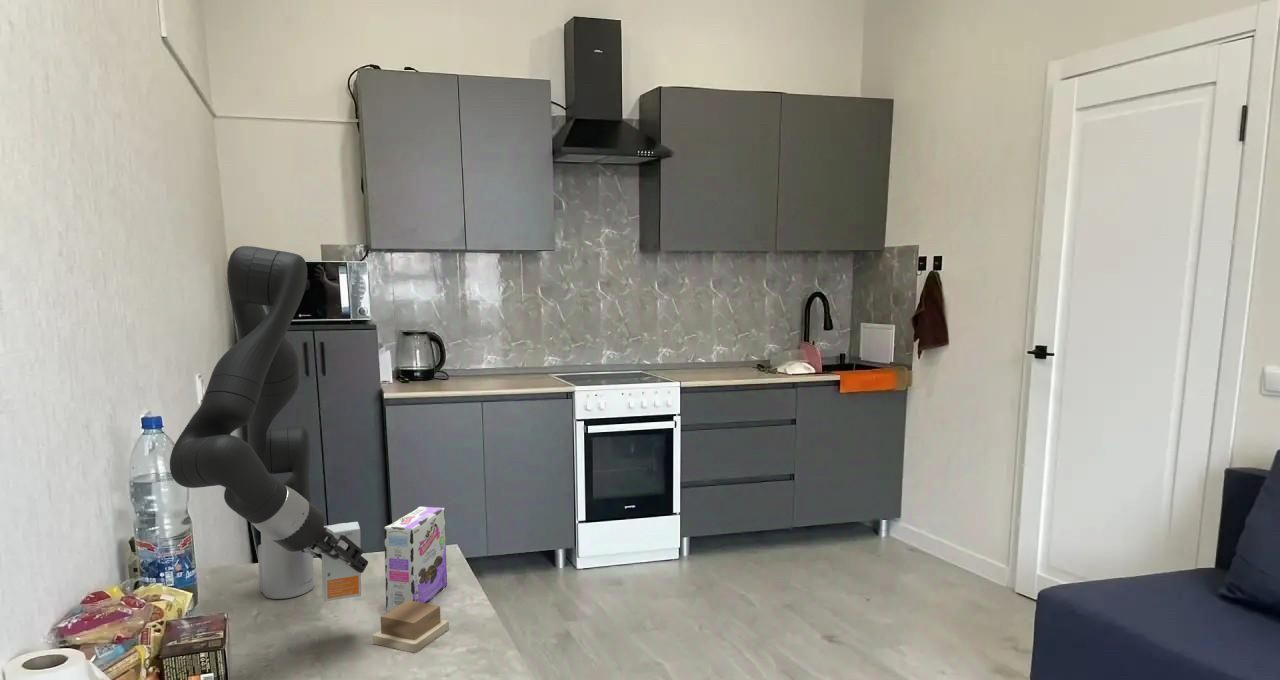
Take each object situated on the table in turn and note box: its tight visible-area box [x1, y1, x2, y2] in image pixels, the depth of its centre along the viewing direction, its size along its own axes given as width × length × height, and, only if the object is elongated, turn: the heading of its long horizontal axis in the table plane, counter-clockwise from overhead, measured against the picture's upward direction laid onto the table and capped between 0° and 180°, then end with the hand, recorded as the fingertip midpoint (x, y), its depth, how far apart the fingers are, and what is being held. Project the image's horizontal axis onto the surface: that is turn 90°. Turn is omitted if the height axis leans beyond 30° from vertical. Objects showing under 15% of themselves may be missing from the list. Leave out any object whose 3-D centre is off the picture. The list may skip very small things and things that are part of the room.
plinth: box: [371, 600, 450, 654], centre depth 126 cm, size 9×9×4 cm
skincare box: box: [321, 521, 362, 603], centre depth 124 cm, size 6×4×12 cm
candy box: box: [383, 506, 448, 613], centre depth 141 cm, size 14×6×16 cm, turn 168°
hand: (348, 563), depth 125 cm, fingers closed on skincare box, 6 cm apart
